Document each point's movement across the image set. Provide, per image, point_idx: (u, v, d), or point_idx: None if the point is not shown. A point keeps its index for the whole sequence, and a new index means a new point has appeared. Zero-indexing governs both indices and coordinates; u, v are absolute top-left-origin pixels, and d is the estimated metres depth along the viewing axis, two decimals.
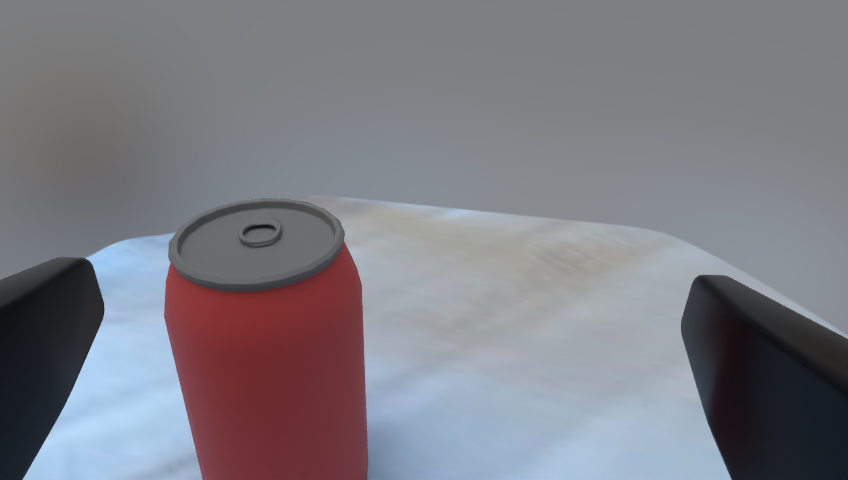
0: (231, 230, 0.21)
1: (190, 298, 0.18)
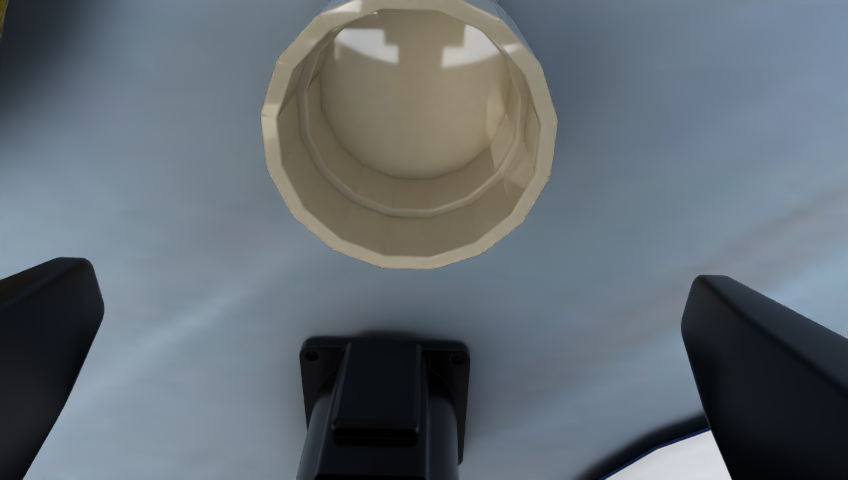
0: None
1: None
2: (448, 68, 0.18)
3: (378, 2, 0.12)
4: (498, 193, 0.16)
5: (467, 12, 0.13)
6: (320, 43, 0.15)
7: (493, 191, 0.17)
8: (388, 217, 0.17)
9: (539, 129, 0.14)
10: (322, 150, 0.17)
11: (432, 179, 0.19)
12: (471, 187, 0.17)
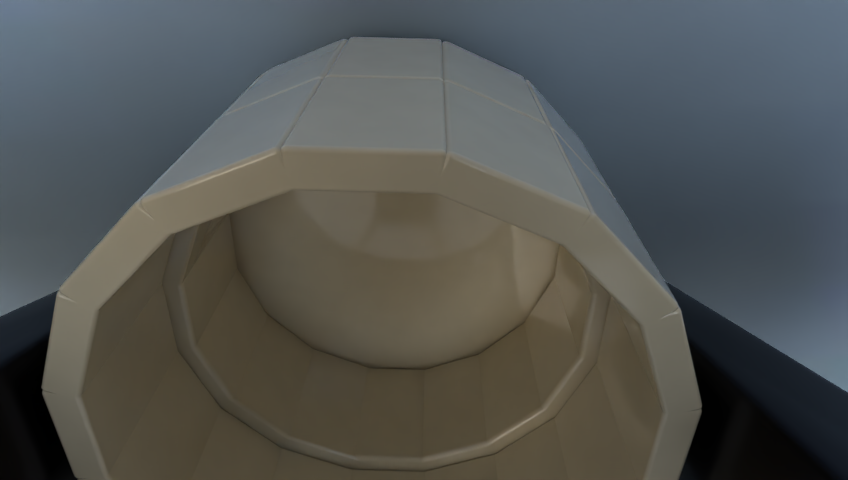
0: None
1: None
2: (455, 206, 0.10)
3: (284, 178, 0.05)
4: (549, 458, 0.09)
5: (509, 199, 0.05)
6: None
7: (538, 444, 0.09)
8: (349, 472, 0.10)
9: (659, 418, 0.06)
10: (227, 364, 0.09)
11: (427, 370, 0.12)
12: (496, 419, 0.10)
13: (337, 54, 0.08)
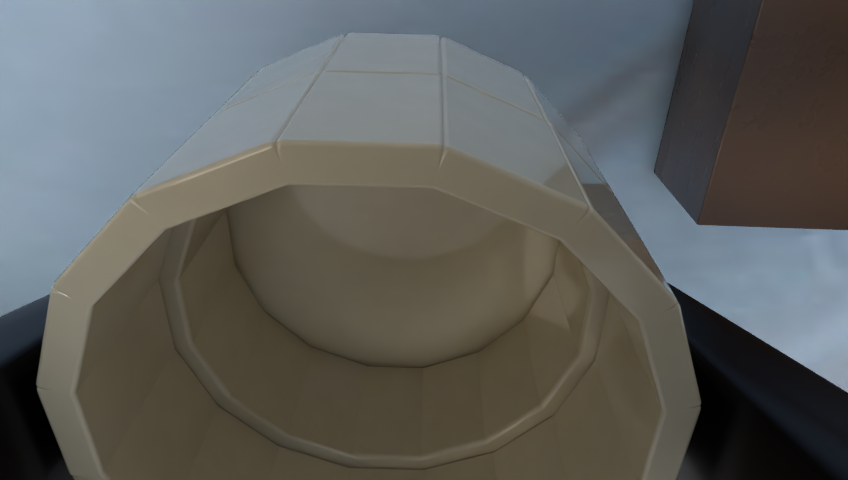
0: None
1: None
2: (453, 203, 0.10)
3: (279, 172, 0.05)
4: (548, 457, 0.09)
5: (506, 194, 0.05)
6: None
7: (537, 443, 0.09)
8: (346, 471, 0.10)
9: (658, 415, 0.06)
10: (224, 361, 0.09)
11: (426, 368, 0.12)
12: (494, 417, 0.10)
13: (334, 50, 0.08)
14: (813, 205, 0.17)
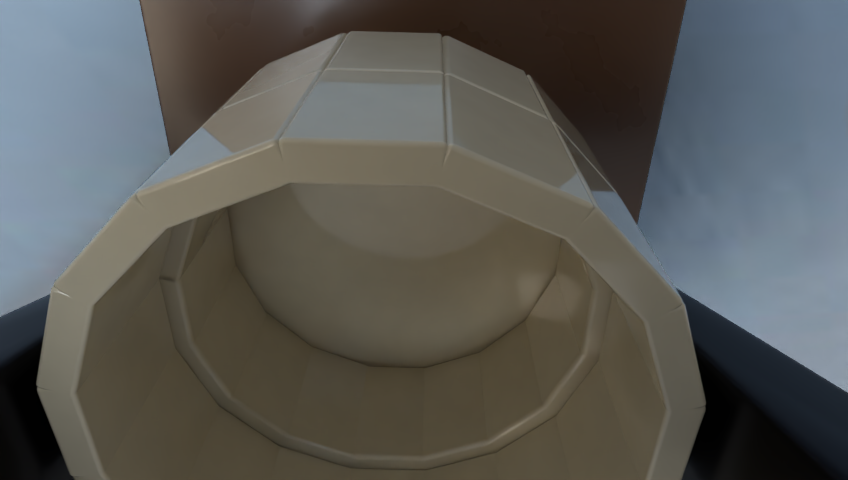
0: None
1: None
2: (455, 202, 0.10)
3: (282, 170, 0.05)
4: (550, 457, 0.09)
5: (511, 192, 0.05)
6: None
7: (539, 443, 0.09)
8: (348, 471, 0.10)
9: (662, 416, 0.06)
10: (225, 361, 0.09)
11: (427, 368, 0.12)
12: (496, 418, 0.10)
13: (336, 48, 0.08)
14: None
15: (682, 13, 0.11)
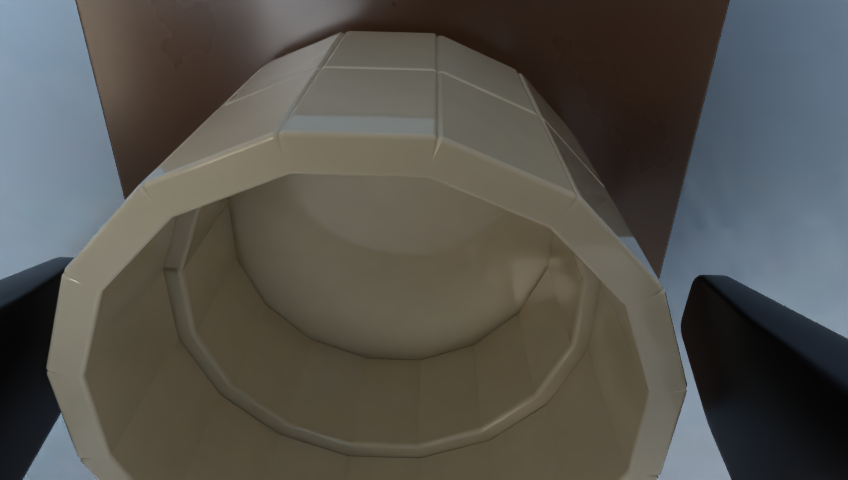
0: None
1: None
2: (450, 198, 0.10)
3: (281, 161, 0.05)
4: (541, 444, 0.09)
5: (498, 183, 0.05)
6: None
7: (531, 430, 0.09)
8: (345, 459, 0.10)
9: (645, 398, 0.07)
10: (226, 351, 0.10)
11: (423, 360, 0.12)
12: (490, 407, 0.10)
13: (334, 47, 0.08)
14: None
15: (718, 38, 0.09)
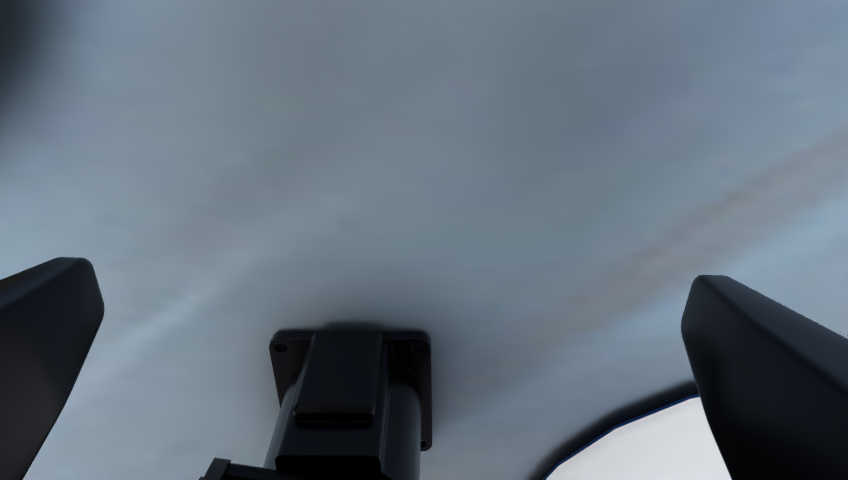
0: None
1: None
2: None
3: None
4: None
5: None
6: None
7: None
8: None
9: None
10: None
11: None
12: None
13: None
14: None
15: None
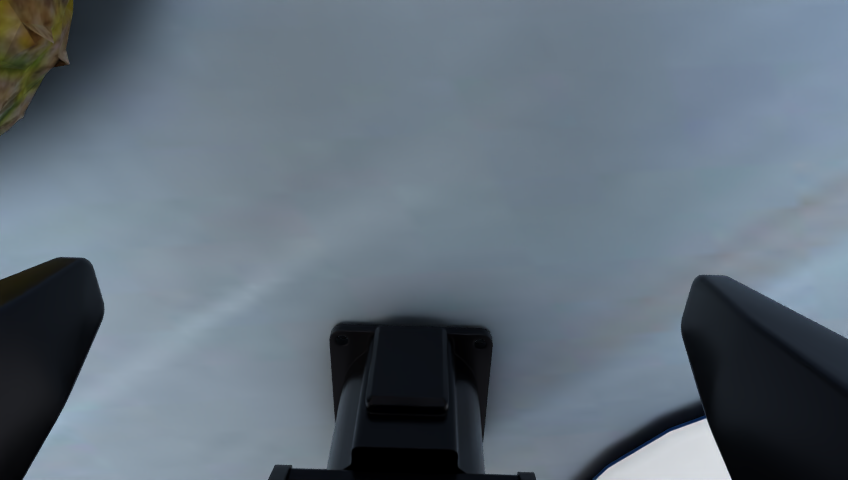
0: None
1: None
2: None
3: None
4: None
5: None
6: None
7: None
8: None
9: None
10: None
11: None
12: None
13: None
14: None
15: None
